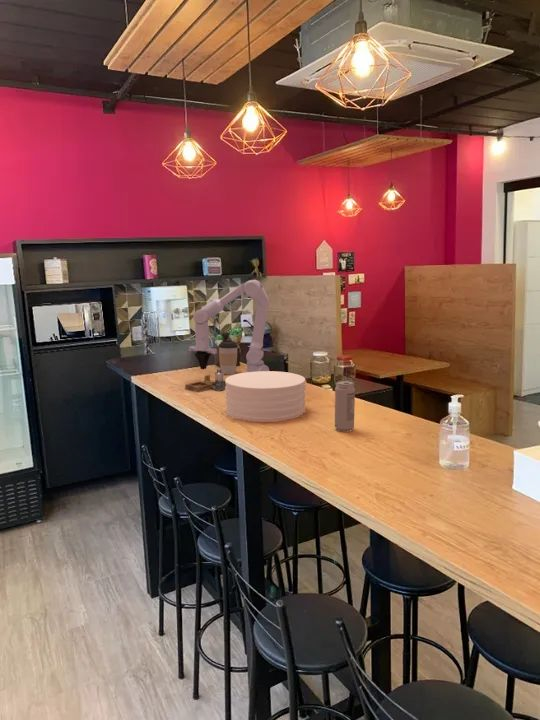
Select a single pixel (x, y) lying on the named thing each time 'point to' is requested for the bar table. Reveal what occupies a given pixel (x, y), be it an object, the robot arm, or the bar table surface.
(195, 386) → the square wooden tray
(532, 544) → the bar table surface
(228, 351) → the coffee cup
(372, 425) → the bar table surface
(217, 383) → the peg
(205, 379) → the golden l-shaped block
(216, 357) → the potted plant
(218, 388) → the socket collar
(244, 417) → the plate stack
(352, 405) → the energy drink can
